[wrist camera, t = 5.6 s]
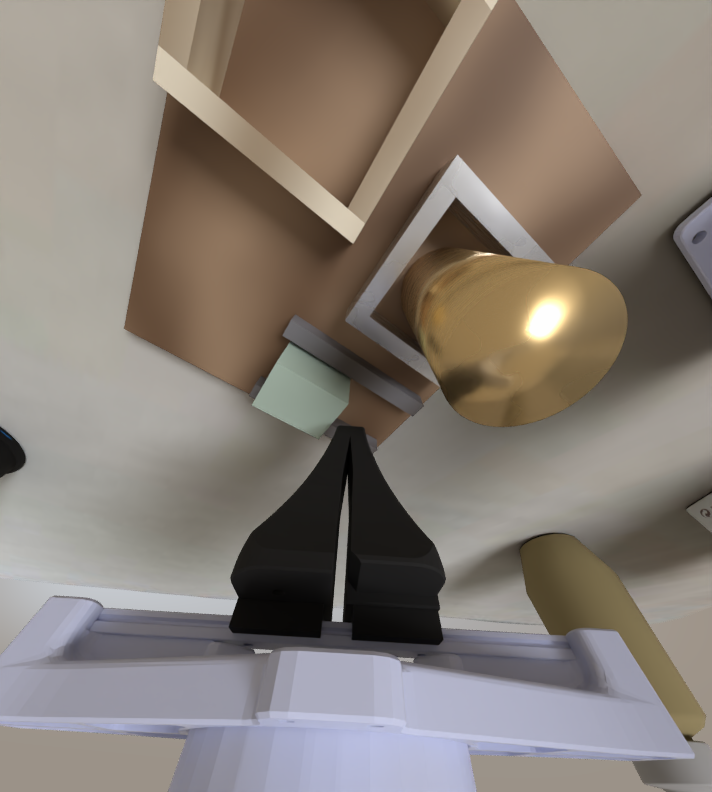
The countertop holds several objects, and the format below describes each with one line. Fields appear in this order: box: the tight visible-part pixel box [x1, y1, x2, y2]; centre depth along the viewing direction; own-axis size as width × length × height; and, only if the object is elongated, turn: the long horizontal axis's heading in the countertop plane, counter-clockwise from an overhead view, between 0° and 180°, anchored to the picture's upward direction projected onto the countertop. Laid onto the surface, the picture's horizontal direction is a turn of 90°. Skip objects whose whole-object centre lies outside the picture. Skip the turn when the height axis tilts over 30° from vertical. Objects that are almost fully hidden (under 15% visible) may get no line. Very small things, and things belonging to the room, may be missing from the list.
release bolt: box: [252, 341, 351, 439], centre depth 14 cm, size 4×3×3 cm
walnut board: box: [124, 0, 642, 454], centre depth 12 cm, size 17×19×2 cm
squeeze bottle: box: [520, 534, 712, 792], centre depth 20 cm, size 8×8×18 cm
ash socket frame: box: [153, 0, 498, 243], centre depth 8 cm, size 7×7×2 cm
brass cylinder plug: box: [401, 247, 628, 427], centre depth 9 cm, size 4×4×8 cm
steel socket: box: [345, 155, 554, 388], centre depth 12 cm, size 7×7×2 cm
